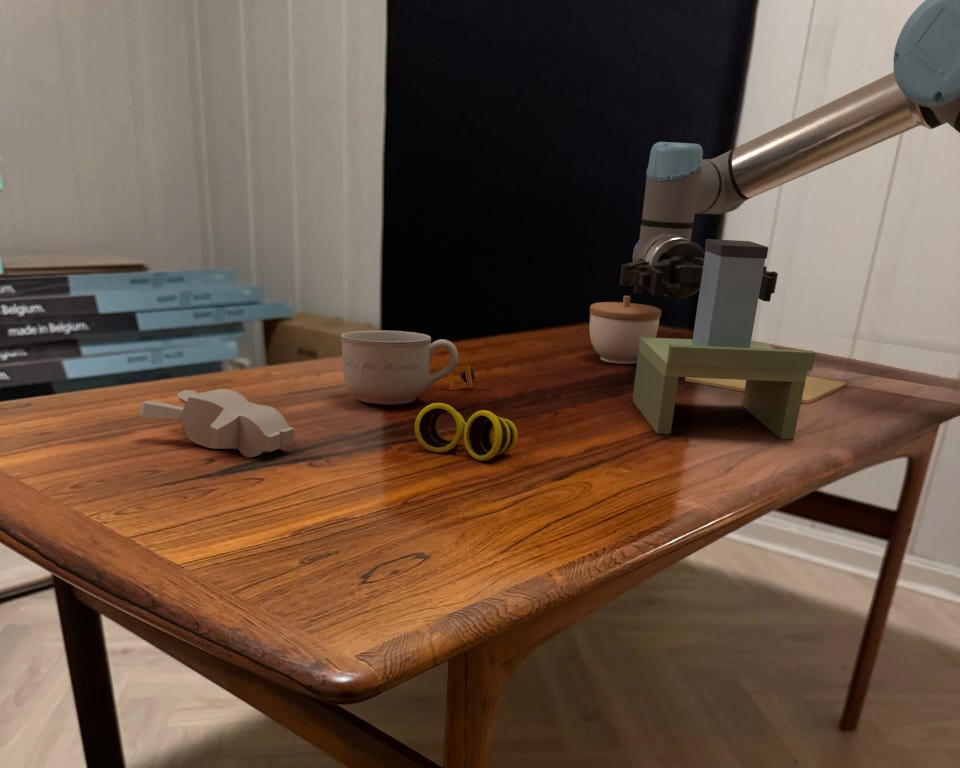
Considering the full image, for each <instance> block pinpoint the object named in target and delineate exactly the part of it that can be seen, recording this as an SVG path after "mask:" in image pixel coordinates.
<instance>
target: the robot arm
mask: <svg viewBox="0 0 960 768" xmlns="http://www.w3.org/2000/svg"><path fill="white" fill-rule="evenodd" d="M892 67H893V71H892V72H891V73H889V74H886V75H884V76H882V77H880V78H878V79H875V80H874V81H872V82H869V83H868V84H865V85H864V86H861V87H859V88H857V89H855V90H853V91H851V92H849V93H847V94H845V95H843V96H841V97H838V98H836V99H835V100H832V101H830V102H828V103H826V104H824V105H822V106H820V107H817V108H815V109H814V110H811V111H810V112H807V113H806V114H803V115H801V116H799V117H796V118H794V119H792V120H791V121H789V122H787V123H784V124H782V125H780V126H778V127H775V128H774V129H772V130H770V131H767V132H765V133H763V134H761V135H759V136H758V137H755V138H754V139H751V140H749V141H747V142H745V143H742V144H740V145H738V146H736V147H735V148H732V149H730V150H728V151H727V152H725V153H722V154H720V155H717V156H716V157H713V158H711V159H710V158H703V155H704V150H703V147H702V146H701V144H699V143H693V142H690V143H689V142H671V141H658V142H656V143H654V144H653V145H652V147H651V149H650V153H649V154H650V155H649V159H648V165H647V169H646V173H645V175H646V178H645V179H646V180H645V188H644V199H643V208H642V217H641V224H640V232H639V240H638V241H637V242H636V244H635V245H634V248H633V253H632V261H631V262H628V263H624V264H621V269H620V277H619V286H621V287H623V288H627V287H629V286H632V285H633V294H640V295H641V294H643V291H644V290H645V291H646V292H648V293H649V294H650V295H652V296H653V297H661V293H662V294H664V296H665V297H666V298H671V299H686V298H689V297H691V296H693V295H695V294H696V293H698V291H700V286H701V279H702V272H703V265H704V258H705V249H703V248H702V247H701V246H700V245H699V244H697V243H696V242H693V241H692V233H693V228H694V220H695V215H702V214H703V215H717V216H719V215H724V214H727V213H732V212H733V211H736V210H737V209H739V208H740V207H741V206H742V205H743V204H744V203H745V202H746V201H749V200H750V199H752V198H754V197H757V196H759V195H762V194H764V193H766V192H769V191H770V190H773V189H775V188H778V187H780V186H782V185H784V184H787V183H789V182H791V181H794V180H796V179H798V178H801V177H803V176H806V175H808V174H810V173H812V172H815V171H817V170H819V169H822V168H824V167H827V166H829V165H831V164H833V163H837V162H838V161H841V160H843V159H845V158H847V157H850V156H852V155H854V154H855V155H856V154H857V153H859V152H862V151H864V150H866V149H869V148H871V147H873V146H876V145H878V144H881V143H883V142H885V141H887V140H889V139H893V138H895V137H896V136H899V135H902V134H903V133H906V132H908V131H911V130H913V129H915V128H918V127H920V126H922V127H924V128H927V129H928V130H934V129H936V128H938V127H940V126H943V125H945V124H948V125H949V126H950V127H952V128H953V129H954V130H955V131H956V132H957V133H959V134H960V0H924V1H923V2H922V3H920V4H919V5H918V6H917V7H916V8H915V9H914V11H913V12H912V13H911V15H910V16H909V17H908V18H907V20H906V22H905V23H904V25H903V27H902V28H901V30H900V33H899V35H898V38H897V40H896V43H895V46H894V51H893V65H892ZM767 268H768V266H766V265H764V270H763V276H762V281H761V287H760V293H759V299H758V300H760V301H762V302H771V299H772V294H775V292H776V286H777V282H778V275H779V272H777V271H769V270H767Z"/></svg>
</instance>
